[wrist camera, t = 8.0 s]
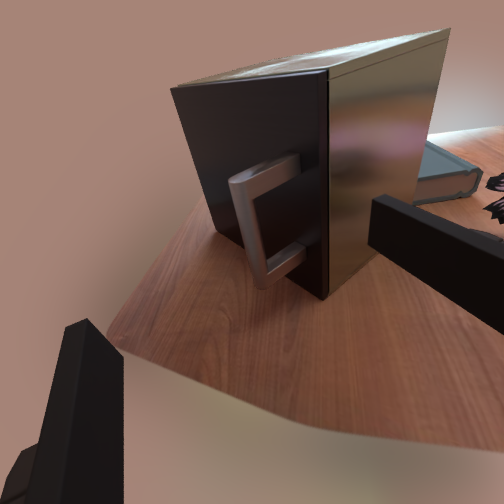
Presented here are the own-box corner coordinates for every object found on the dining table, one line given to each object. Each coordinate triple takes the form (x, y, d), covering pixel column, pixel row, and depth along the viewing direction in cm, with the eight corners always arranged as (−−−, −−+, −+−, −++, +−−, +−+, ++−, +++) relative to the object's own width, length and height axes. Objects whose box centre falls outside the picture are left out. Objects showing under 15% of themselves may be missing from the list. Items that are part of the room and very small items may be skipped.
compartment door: (281, 336, 29) (235, 99, 14) (184, 247, 46) (119, 101, 32) (328, 296, 32) (327, 69, 18) (220, 227, 49) (176, 86, 35)
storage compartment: (329, 296, 32) (329, 66, 18) (221, 227, 50) (177, 85, 35) (406, 229, 39) (451, 27, 25) (288, 190, 57) (274, 59, 42)
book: (339, 165, 62) (339, 144, 59) (409, 152, 60) (413, 130, 57) (373, 211, 44) (376, 184, 41) (474, 195, 42) (485, 166, 39)
